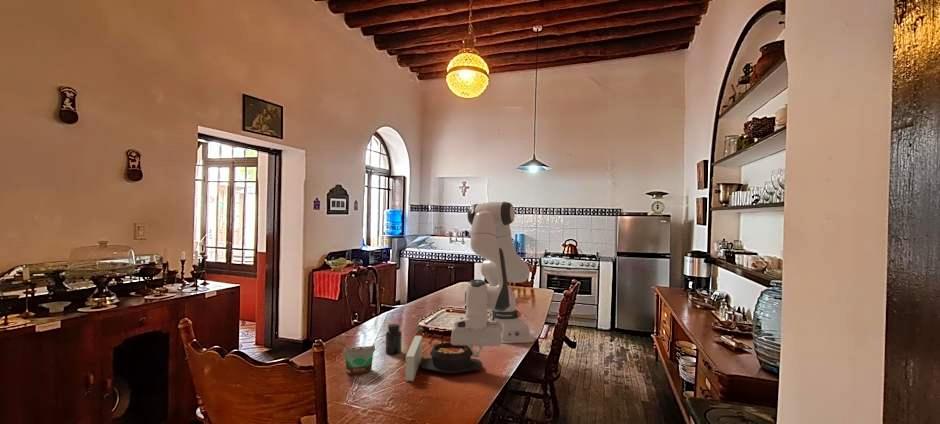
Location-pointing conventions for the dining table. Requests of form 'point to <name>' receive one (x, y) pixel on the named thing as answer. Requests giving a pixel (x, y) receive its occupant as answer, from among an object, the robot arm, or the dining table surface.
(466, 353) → the casserole
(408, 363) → the board
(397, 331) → the supplement bottle
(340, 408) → the dining table surface
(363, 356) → the food container
